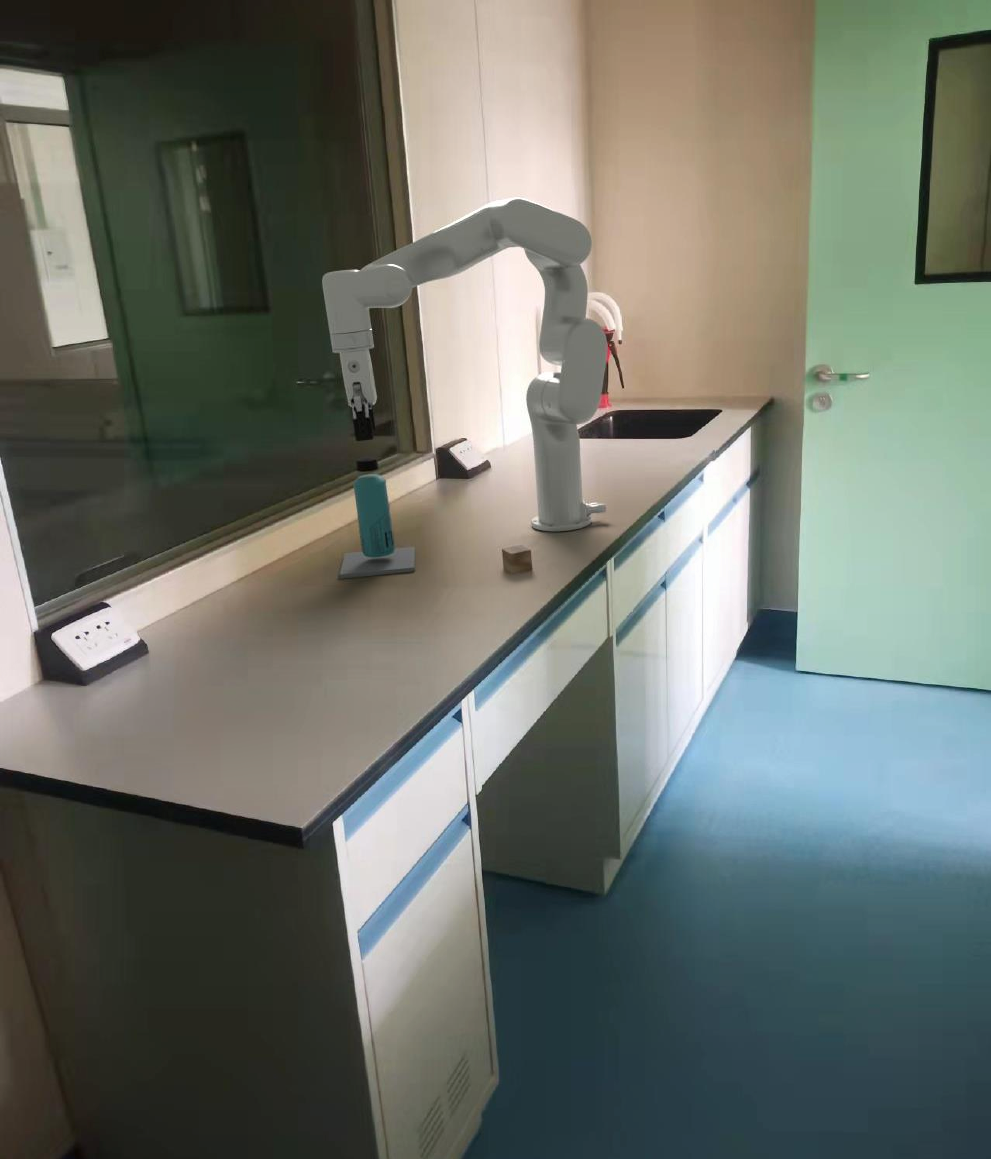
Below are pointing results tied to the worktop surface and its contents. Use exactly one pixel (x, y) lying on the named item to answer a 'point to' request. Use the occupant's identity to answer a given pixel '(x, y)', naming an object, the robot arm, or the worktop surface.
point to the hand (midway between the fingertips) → (366, 435)
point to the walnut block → (517, 559)
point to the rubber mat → (378, 563)
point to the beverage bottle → (373, 510)
